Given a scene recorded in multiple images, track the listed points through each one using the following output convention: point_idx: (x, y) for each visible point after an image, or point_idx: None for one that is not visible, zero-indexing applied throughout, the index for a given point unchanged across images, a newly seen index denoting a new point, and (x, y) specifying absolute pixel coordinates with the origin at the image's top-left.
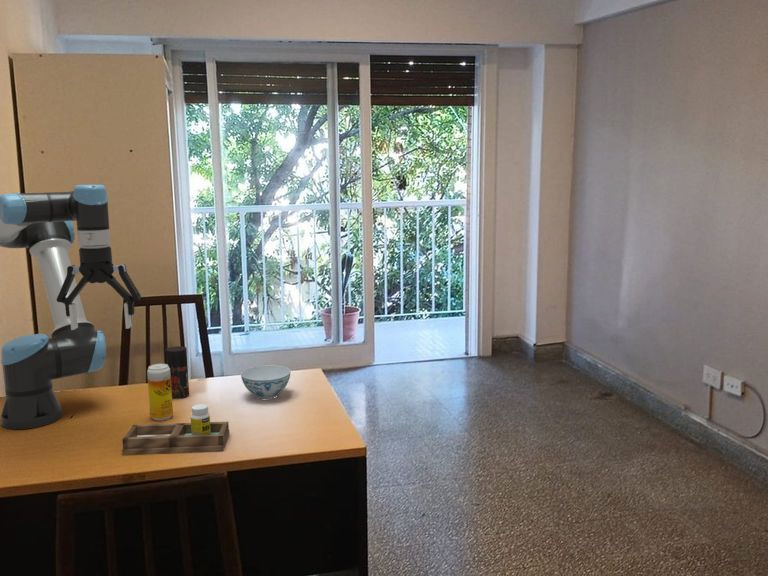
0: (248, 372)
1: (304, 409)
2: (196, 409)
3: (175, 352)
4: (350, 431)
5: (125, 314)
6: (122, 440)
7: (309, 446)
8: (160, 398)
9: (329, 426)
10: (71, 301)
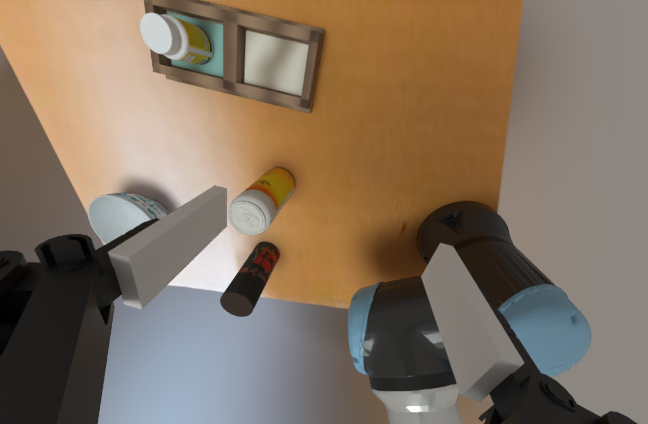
0: None
1: (91, 146)
2: (157, 14)
3: (235, 291)
4: None
5: (179, 217)
6: (319, 32)
7: None
8: (265, 178)
9: (31, 60)
10: (500, 408)
